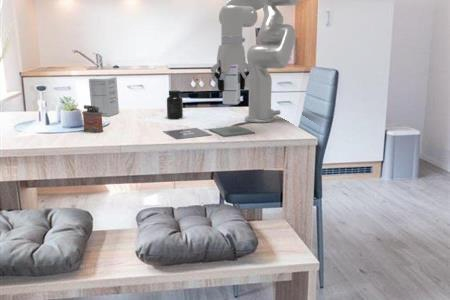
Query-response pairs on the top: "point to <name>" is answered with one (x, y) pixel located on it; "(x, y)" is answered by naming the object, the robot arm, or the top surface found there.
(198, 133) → the card
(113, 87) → the supplement box
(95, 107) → the lighter
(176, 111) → the supplement bottle
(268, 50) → the robot arm
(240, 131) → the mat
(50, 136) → the top surface
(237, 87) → the syrup box
